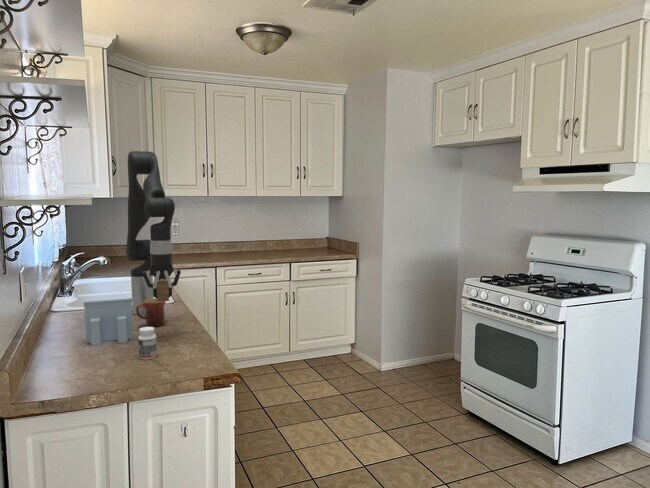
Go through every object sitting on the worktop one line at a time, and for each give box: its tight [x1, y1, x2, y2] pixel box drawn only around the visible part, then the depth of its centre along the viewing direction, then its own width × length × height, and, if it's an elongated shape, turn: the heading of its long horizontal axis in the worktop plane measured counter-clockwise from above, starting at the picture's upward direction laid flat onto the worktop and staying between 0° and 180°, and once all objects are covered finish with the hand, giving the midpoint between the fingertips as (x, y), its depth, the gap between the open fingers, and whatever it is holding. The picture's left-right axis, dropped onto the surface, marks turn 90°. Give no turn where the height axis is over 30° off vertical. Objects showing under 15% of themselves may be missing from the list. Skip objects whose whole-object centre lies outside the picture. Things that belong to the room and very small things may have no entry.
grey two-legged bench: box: [83, 297, 134, 347], centre depth 183 cm, size 6×16×15 cm, turn 110°
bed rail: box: [156, 279, 170, 302], centre depth 187 cm, size 14×4×6 cm, turn 20°
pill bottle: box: [138, 326, 158, 361], centre depth 167 cm, size 6×6×10 cm
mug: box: [136, 298, 167, 328], centre depth 204 cm, size 12×9×10 cm
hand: (162, 297), depth 185 cm, fingers closed on bed rail, 4 cm apart
